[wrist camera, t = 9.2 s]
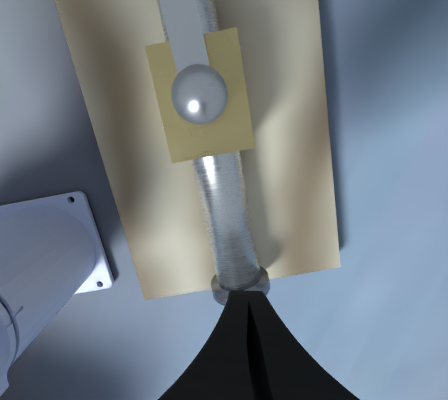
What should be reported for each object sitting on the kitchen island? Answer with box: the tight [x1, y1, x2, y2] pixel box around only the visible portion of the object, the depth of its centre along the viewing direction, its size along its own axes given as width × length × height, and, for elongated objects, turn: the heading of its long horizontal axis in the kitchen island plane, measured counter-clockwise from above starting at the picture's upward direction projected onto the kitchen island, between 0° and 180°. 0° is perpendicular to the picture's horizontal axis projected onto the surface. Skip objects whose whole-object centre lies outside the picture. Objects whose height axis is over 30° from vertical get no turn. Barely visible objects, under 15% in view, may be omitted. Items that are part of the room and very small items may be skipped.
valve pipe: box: [144, 0, 270, 306], centre depth 15 cm, size 4×25×6 cm, turn 11°
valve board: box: [54, 0, 340, 300], centre depth 18 cm, size 15×26×2 cm, turn 11°
